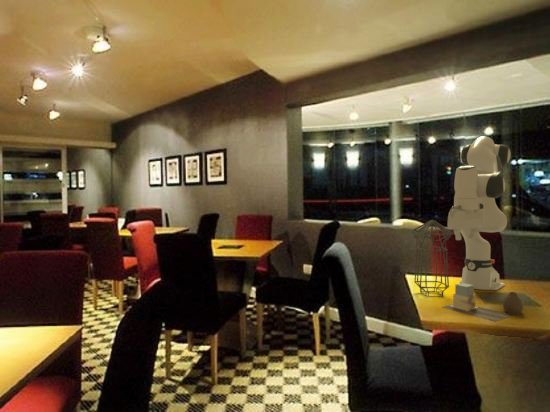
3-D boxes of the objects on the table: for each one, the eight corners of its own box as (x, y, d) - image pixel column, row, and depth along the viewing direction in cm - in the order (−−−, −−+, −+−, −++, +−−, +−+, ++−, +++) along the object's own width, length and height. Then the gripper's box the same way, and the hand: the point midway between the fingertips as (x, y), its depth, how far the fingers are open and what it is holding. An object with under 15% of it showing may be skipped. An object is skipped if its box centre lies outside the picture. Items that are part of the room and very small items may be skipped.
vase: (514, 318, 158) (515, 295, 157) (498, 313, 164) (499, 291, 164) (527, 316, 160) (527, 293, 160) (510, 311, 167) (511, 289, 166)
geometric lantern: (420, 298, 186) (420, 221, 184) (409, 290, 201) (410, 219, 200) (455, 299, 185) (456, 221, 184) (442, 290, 201) (443, 219, 199)
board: (459, 304, 176) (459, 301, 176) (513, 317, 158) (513, 314, 158) (441, 309, 169) (441, 306, 169) (495, 324, 151) (495, 321, 151)
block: (461, 303, 174) (461, 291, 173) (475, 307, 169) (475, 294, 168) (453, 305, 170) (453, 294, 170) (466, 309, 165) (467, 297, 165)
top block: (462, 292, 173) (462, 282, 173) (473, 294, 169) (473, 285, 168) (455, 294, 170) (455, 284, 170) (466, 296, 166) (466, 286, 166)
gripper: (458, 206, 159) (457, 241, 160) (486, 205, 171) (485, 238, 171) (443, 205, 164) (443, 240, 165) (472, 204, 176) (471, 236, 176)
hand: (465, 239), depth 168 cm, fingers open, 8 cm apart
